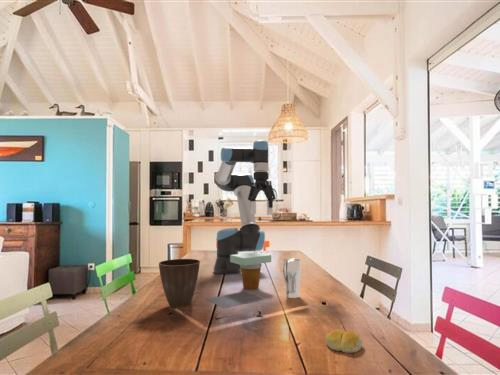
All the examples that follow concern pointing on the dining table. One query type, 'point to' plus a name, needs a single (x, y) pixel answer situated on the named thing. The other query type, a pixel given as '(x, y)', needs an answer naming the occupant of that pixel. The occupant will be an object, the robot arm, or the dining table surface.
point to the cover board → (250, 258)
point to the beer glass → (292, 277)
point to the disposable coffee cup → (251, 276)
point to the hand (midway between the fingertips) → (261, 214)
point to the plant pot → (179, 280)
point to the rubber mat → (234, 299)
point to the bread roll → (344, 341)
